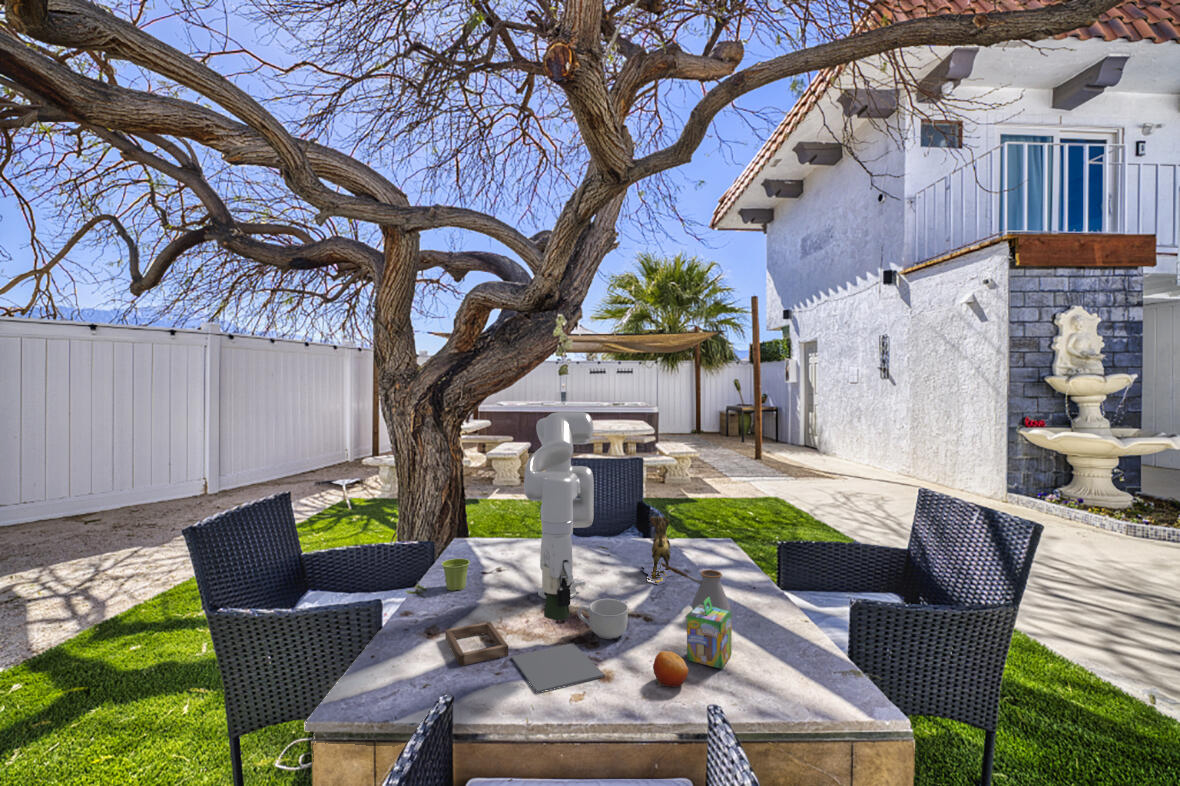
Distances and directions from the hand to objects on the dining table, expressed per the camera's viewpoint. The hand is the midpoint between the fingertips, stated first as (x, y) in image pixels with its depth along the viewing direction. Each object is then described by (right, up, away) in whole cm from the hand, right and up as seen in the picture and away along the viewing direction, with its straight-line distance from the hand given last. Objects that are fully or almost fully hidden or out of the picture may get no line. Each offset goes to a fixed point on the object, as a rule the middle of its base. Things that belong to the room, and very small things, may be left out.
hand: (556, 599), depth 136 cm
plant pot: (-38, -16, +55) cm, 68 cm away
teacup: (+12, -17, +20) cm, 28 cm away
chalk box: (+38, -17, +6) cm, 43 cm away
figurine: (+33, -17, +71) cm, 80 cm away
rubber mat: (0, -17, +1) cm, 17 cm away
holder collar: (-22, -16, +11) cm, 30 cm away
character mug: (0, -5, 0) cm, 5 cm away
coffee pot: (+40, -17, +33) cm, 54 cm away
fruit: (+27, -17, -6) cm, 32 cm away
